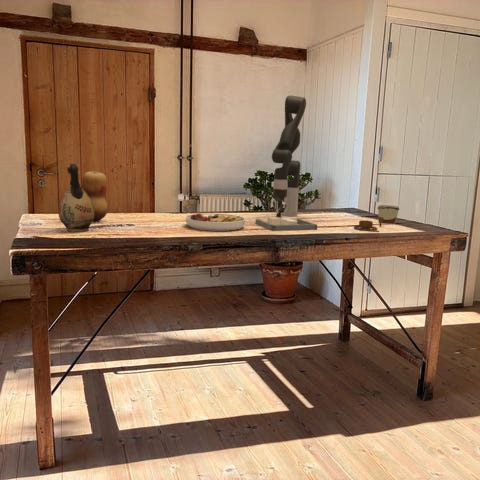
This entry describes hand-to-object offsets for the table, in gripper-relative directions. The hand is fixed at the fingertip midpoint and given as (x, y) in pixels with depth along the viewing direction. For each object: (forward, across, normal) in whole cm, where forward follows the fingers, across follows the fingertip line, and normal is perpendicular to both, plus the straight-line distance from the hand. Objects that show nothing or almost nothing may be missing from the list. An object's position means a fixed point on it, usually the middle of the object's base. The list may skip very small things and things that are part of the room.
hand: (278, 220), depth 257 cm
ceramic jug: (+2, +7, -103) cm, 103 cm away
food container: (+2, +4, +67) cm, 67 cm away
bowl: (+2, +5, -37) cm, 37 cm away
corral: (+2, +9, 0) cm, 9 cm away
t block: (+2, +9, 0) cm, 9 cm away
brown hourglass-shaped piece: (+2, -19, -94) cm, 96 cm away
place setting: (+3, +23, +44) cm, 50 cm away
